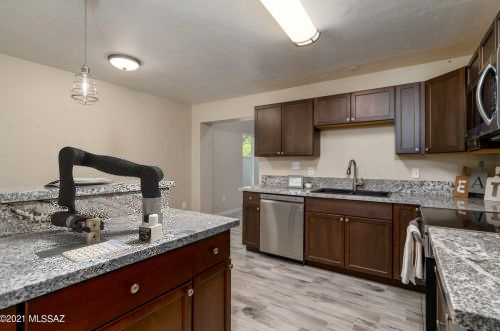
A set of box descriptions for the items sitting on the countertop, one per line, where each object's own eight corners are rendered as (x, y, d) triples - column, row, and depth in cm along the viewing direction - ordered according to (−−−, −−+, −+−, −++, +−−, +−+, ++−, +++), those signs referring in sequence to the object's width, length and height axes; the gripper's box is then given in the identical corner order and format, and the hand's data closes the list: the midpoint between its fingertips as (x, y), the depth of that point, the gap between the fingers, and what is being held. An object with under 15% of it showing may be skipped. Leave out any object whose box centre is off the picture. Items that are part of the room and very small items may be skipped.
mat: (100, 238, 113) (100, 237, 113) (111, 242, 108) (111, 241, 108) (33, 254, 93) (33, 253, 93) (42, 260, 88) (42, 258, 88)
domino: (97, 240, 109) (97, 217, 109) (100, 241, 108) (100, 218, 108) (86, 242, 106) (86, 219, 105) (88, 243, 104) (88, 220, 104)
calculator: (60, 257, 93) (60, 252, 93) (114, 243, 109) (114, 238, 109) (75, 266, 85) (75, 260, 85) (131, 249, 102) (131, 244, 102)
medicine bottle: (138, 241, 110) (138, 214, 110) (150, 237, 117) (150, 211, 117) (150, 243, 107) (151, 216, 107) (162, 239, 114) (162, 213, 114)
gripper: (60, 217, 109) (77, 223, 99) (95, 212, 121) (113, 217, 111) (60, 234, 109) (77, 242, 99) (95, 227, 121) (113, 234, 111)
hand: (96, 229), depth 105 cm, fingers closed on domino, 4 cm apart
